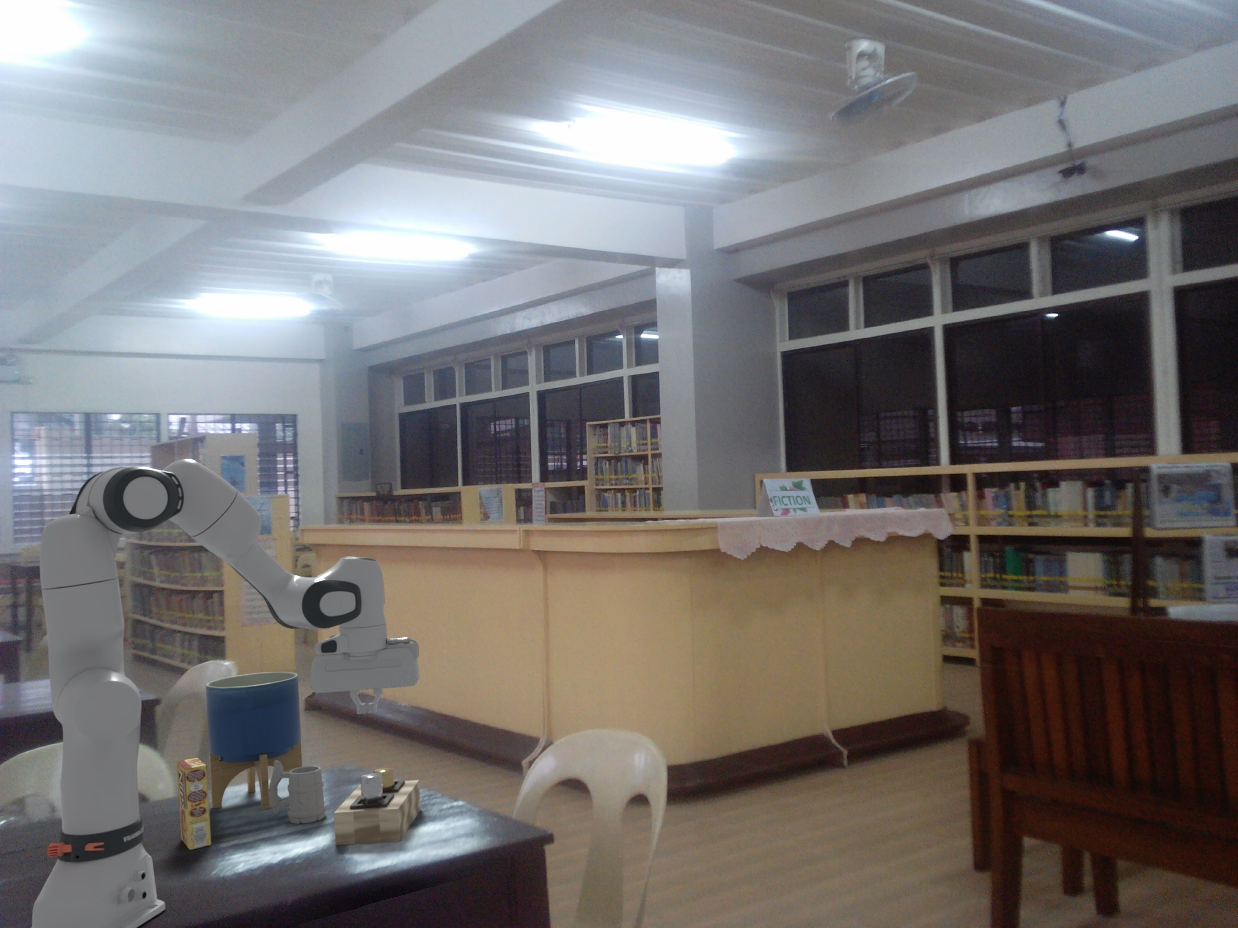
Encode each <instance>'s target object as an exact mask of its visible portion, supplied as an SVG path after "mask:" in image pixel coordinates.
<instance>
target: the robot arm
mask: <svg viewBox="0 0 1238 928" xmlns="http://www.w3.org/2000/svg"><path fill="white" fill-rule="evenodd" d="M167 521H170V522H172V523H174V524H176V525H178V526H179V527H180V528H181V529H182V530H183V531H184V532H185V533H186V534H188V536H190V537H191V538H192V539H193V540H194V541H196V542H197V543H198V544H199V545H201V546H202V547H203V548H205V549H206V550H207V551H209V552H211V554H214V555H215V556H217V558H219V559H221V560H222V561H224V562H225V563H226V564H228V566H230V567H231V568H232V569H233V570H234V571H235V572H236V573H237V574H238V575H239V576H241V577H242V579H244V580H245V581H246V582H247V583H248V584H249V585H250V586H251V587H252V588H253V589H254V590H255V591H256V592H258V594H259V595H260V596H261V598H262V599H263V600H264V602H265V604H266V605H267V608H268V610H269V613H270V614H271V617H272V618H273V619H274V620H275V621H276V622H277V623H278V624H279V625H280V626H283V627H284V628H287V629H292V630H296V629H297V630H298V629H307V630H327V629H331V628H334V627H337V626H338V630H339V632H338V634H334V635H331V636H329V637H328V638H325V639H323V640H320V641H318V642H317V643H316V644H315V646H314V651H315V654H316V655H317V656H315V657H314V659H313V661H312V662H311V669H310V670H311V671H310V689H311V690H312V691H313V693H315V694H322V693H324V694H325V693H334V692H335V693H336V692H337V693H338V692H349V696H350V699H351V700H352V701H353V703H354V704H355V706H356V714H357V715H361V714H366V713H367V712H368V714H376V713H378V702H379V700H380V698H381V696H382V695H383V689H392V688H394V689H395V688H409V687H415V686H416V685H417V684H418V683H419V681H420V668H419V664H418V658H419V657H420V656H419V655H420V650H419V649H420V648H419V647H420V646H419V643H418V642H417V641H416V640H414V639H411V638H410V637H402V638H401V637H400V638H396V637H395V638H388V635H387V634H388V633H387V632H388V631H387V630H388V629H387V619H386V616H385V613H384V607H385V602H386V595H385V584H384V576H383V571H382V568H381V565H380V563H379V562H378V561H377V560H376V559H374V558H370V557H364V556H355V555H354V556H352V555H351V556H347V555H346V556H343V557H340V558H339V560H338V561H337V562H336V563H335V564H334V565H333V566H332V567H330V568H329V569H327V570H326V571H323V572H322V573H320V574H317V575H316V576H315V577H311V576H310V577H307V576H306V577H305V576H300V575H296V574H294V573H291V572H289V571H287V570H286V568H284V567H283V566H282V565H281V564H280V563H279V562H278V561H277V560H276V559H275V558H273V556H272V555H271V554H269V553H268V552H267V550H265V549H264V548H263V546H262V545H261V543H260V542H259V539H258V538H259V537H260V534H261V530H262V519H261V515H260V513H259V512H258V511H257V509H256V508H255V507H254V505H253V504H252V503H251V502H250V501H249V500H248V498H246V496H244V494H242V493H241V492H240V491H239V490H238V489H237V488H236V487H234V486H233V485H232V484H231V483H230V482H229V481H227V480H226V479H225V478H223V477H222V476H221V475H219V474H218V473H216V472H215V471H214V470H212V469H210V468H208V467H207V466H205V465H204V464H202V463H200V462H198V461H197V460H195V459H191V458H182V459H178V460H176V461H174V462H171V463H170V464H168V465H167V466H165V467H164V468H163V469H162V470H161V469H156V468H153V467H152V468H151V467H148V466H137V465H135V466H129V467H127V466H119V467H114V468H110V469H107V470H105V471H101V472H98V473H97V474H94V475H92V476H91V477H90V478H88V479H87V480H86V481H85V482H84V483H83V484H82V486H80V489H79V490H78V492H77V495H76V498H75V501H74V503H73V505H72V507H71V509H70V511H69V514H66V515H63V516H59V517H57V518H55V519H53V520H52V521H50V522H49V523H48V524H46V525H45V526H44V528H43V529H42V532H41V536H40V544H39V545H40V546H39V577H40V579H39V580H40V587H41V596H42V602H43V603H42V604H43V612H44V619H45V625H46V635H47V647H48V650H47V651H48V672H49V683H50V684H49V686H50V696H51V698H50V699H51V706H52V711H53V715H54V716H55V718H56V719H57V721H58V722H59V723H60V724H61V727H62V761H61V762H62V765H61V774H60V775H61V776H60V780H59V782H60V783H59V784H60V803H61V804H60V805H61V828H62V829H61V830H60V832H59V836H58V840H57V843H56V842H50V844H49V845H48V847H47V852H46V853H47V856H48V857H50V858H52V857H55V858H56V862H55V864H54V866H53V868H52V870H51V872H50V874H49V875H48V877H47V880H46V881H45V883H44V885H43V887H42V888H41V891H40V893H39V894H38V895H37V897H36V900H35V902H34V904H33V907H32V913H31V914H32V916H31V918H32V919H31V925H32V926H31V927H30V928H138V927H140V926H141V925H143V924H144V923H146V922H147V921H149V920H151V919H152V918H154V917H155V916H157V915H159V914H160V913H162V912H163V911H165V910H166V903H165V901H164V900H160V899H158V895H157V893H158V892H157V887H156V879H155V873H154V864H153V858H152V856H151V855H150V854H149V853H148V852H147V851H146V849H145V848H144V845H143V844H142V842H143V840H144V831H145V830H144V829H145V828H144V824H143V818H142V816H140V806H139V805H140V803H139V785H138V784H139V783H138V781H139V779H138V761H139V751H140V741H141V740H140V739H141V738H140V737H141V717H142V716H141V715H142V698H141V694H140V692H139V689H138V687H137V686H136V684H135V683H134V682H133V681H132V680H131V679H130V678H128V677H127V676H126V674H125V664H124V663H125V661H124V659H125V658H124V633H125V632H124V631H125V619H124V613H123V603H122V596H121V595H122V594H121V589H120V588H121V587H120V581H119V573H118V567H117V562H116V554H117V549H118V548H117V547H118V543H119V541H120V540H121V538H122V536H124V535H133V534H137V533H144V532H148V531H150V530H153V529H156V528H157V527H159V526H162V524H164V523H165V522H167ZM365 690H367V691H368V690H372V695H373V696H375V697H374V699H373V701H371V702H368V704H367V703H366V702H362V701H361V699H360V698H359V696H358V695H360V691H365ZM367 708H368V710H367Z"/></svg>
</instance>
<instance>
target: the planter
mask: <svg viewBox="0 0 1238 928" xmlns="http://www.w3.org/2000/svg"><path fill="white" fill-rule="evenodd" d="M205 696H206V714H207V715H206V717H207V736H208V753H209V754H208V756H209V757H208V759H209V777H210V780H209V781H210V798H211V799H210V800H211V808H212V809H218V808H222V807H223V797H224V795H225V792H226V789H227V787H228V786H229V785H230V783H231V782H232V780H233V779H234V778H236V777H237V776H238V775H239V774H241V773H242V772H244V771H246V779H247V791H248V793H252V792H253V793H255V792H256V777H257V780H258V786H259V790H260V791H259V792H260V802H261V803H260V804H261V809H262V810H263V811H264V810H269V809H271V807H270V804H269V795H268V790H269V785H270V782H269V769H268V768H269V767H273V768H274V761H275V760H278V761H280V763H281V764H282V766H283V771H284V772H289V771H290V770H292V769H295V768H298V767H303V757H302V756H303V755H302V730H301V729H302V728H301V713H300V712H301V710H300V694H299V675H298V673H296V672H291V671H271V672H270V671H269V672H267V671H266V672H254V673H247V674H240V675H233V676H228V677H227V676H226V677H223V678H218V679H214V680H212V681H209V682H207V683H206V684H205Z"/></svg>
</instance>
